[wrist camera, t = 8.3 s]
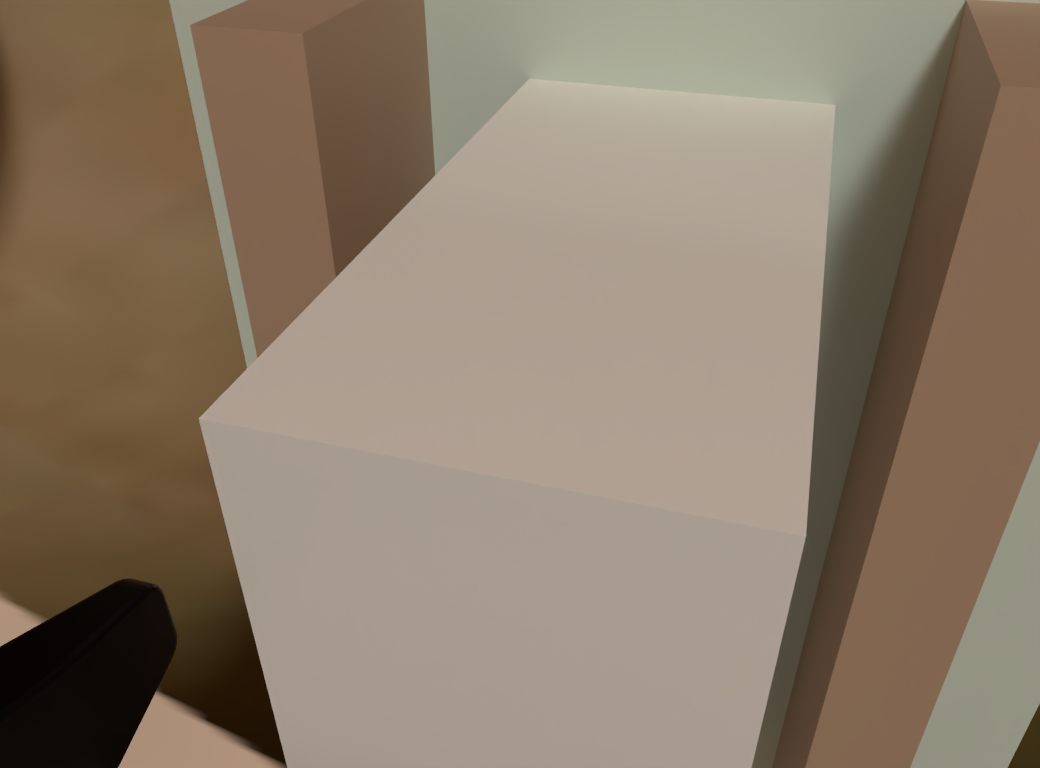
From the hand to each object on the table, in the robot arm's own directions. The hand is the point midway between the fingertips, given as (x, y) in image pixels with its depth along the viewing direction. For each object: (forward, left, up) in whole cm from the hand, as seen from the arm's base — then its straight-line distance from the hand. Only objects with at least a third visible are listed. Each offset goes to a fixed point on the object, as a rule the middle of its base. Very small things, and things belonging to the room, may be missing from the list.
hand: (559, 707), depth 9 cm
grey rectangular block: (0, 0, -4) cm, 4 cm away
